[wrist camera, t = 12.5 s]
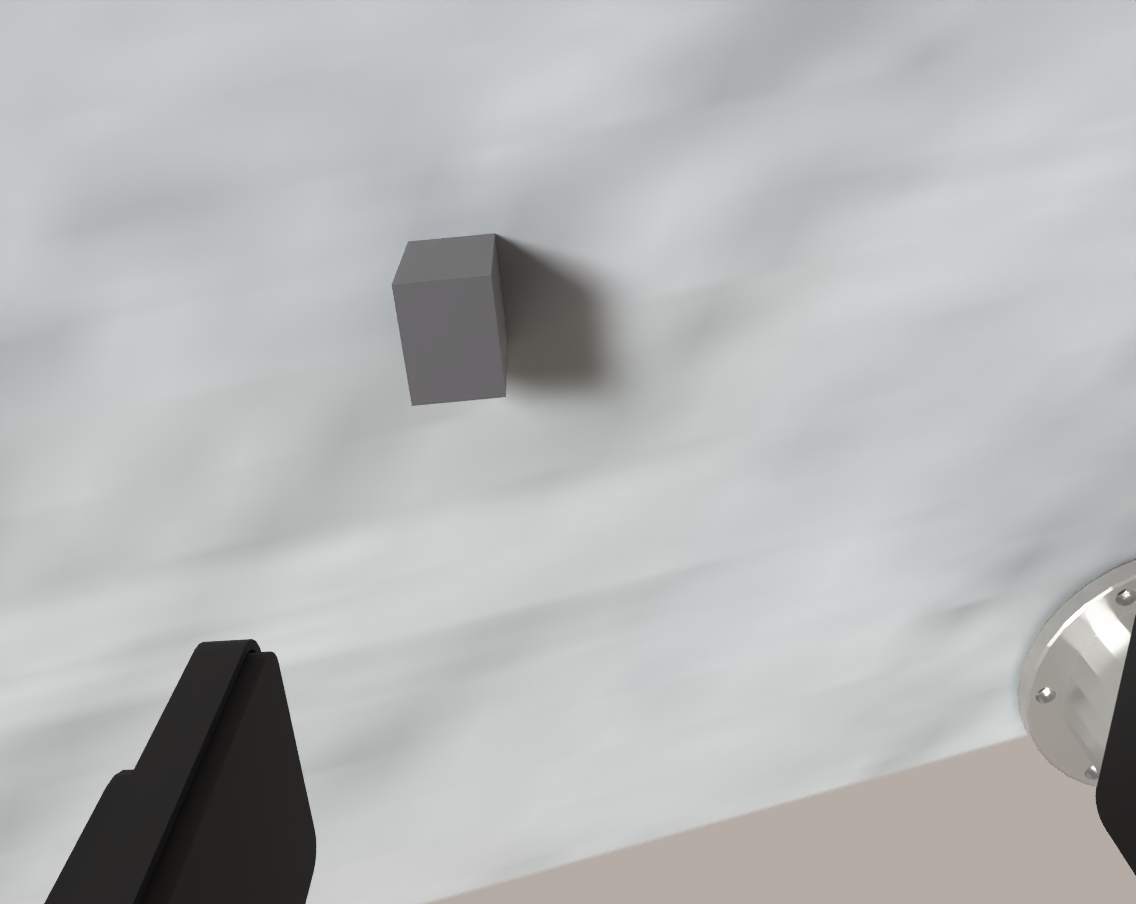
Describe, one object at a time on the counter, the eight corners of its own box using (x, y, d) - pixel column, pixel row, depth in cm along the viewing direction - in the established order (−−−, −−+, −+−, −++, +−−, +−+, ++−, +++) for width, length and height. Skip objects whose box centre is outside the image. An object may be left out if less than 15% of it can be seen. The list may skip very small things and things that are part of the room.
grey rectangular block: (494, 233, 35) (490, 275, 31) (507, 342, 37) (505, 396, 33) (408, 241, 35) (391, 284, 31) (425, 350, 37) (411, 405, 33)
